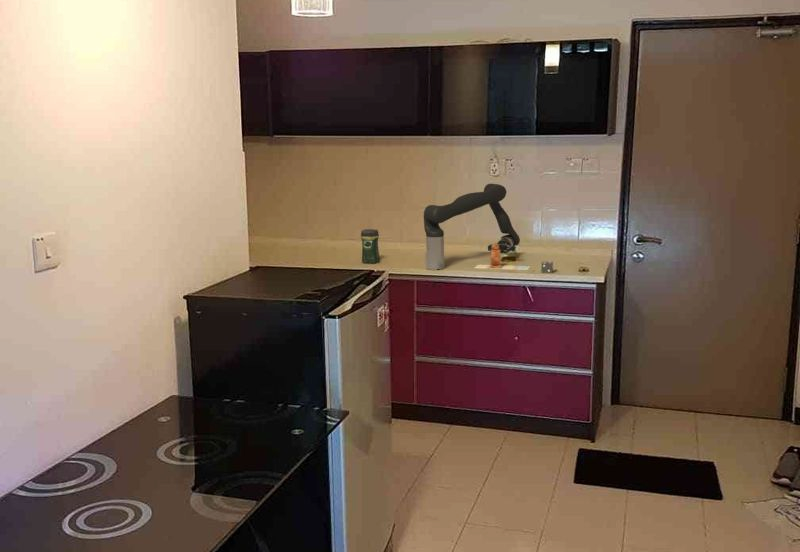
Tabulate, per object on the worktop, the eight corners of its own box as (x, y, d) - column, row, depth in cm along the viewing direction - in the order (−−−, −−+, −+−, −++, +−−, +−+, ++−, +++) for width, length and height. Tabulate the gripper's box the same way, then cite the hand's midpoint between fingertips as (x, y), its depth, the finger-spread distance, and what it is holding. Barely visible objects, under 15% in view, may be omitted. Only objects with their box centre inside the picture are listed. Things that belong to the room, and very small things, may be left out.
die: (541, 273, 384) (541, 263, 383) (542, 271, 388) (542, 261, 387) (551, 273, 382) (551, 263, 381) (552, 271, 387) (552, 261, 386)
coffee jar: (381, 261, 426) (380, 228, 422) (376, 264, 419) (375, 230, 415) (365, 260, 429) (364, 228, 426) (360, 263, 422) (358, 230, 418)
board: (472, 271, 392) (472, 268, 392) (477, 266, 403) (477, 264, 403) (528, 273, 383) (528, 270, 383) (532, 268, 394) (532, 265, 394)
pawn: (488, 267, 392) (488, 244, 390) (490, 265, 398) (490, 242, 395) (500, 268, 390) (500, 244, 388) (502, 266, 396) (502, 242, 393)
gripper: (491, 238, 419) (485, 242, 404) (517, 238, 414) (512, 243, 399) (492, 251, 420) (485, 256, 405) (517, 252, 416) (512, 257, 401)
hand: (499, 250), depth 402 cm, fingers open, 8 cm apart
